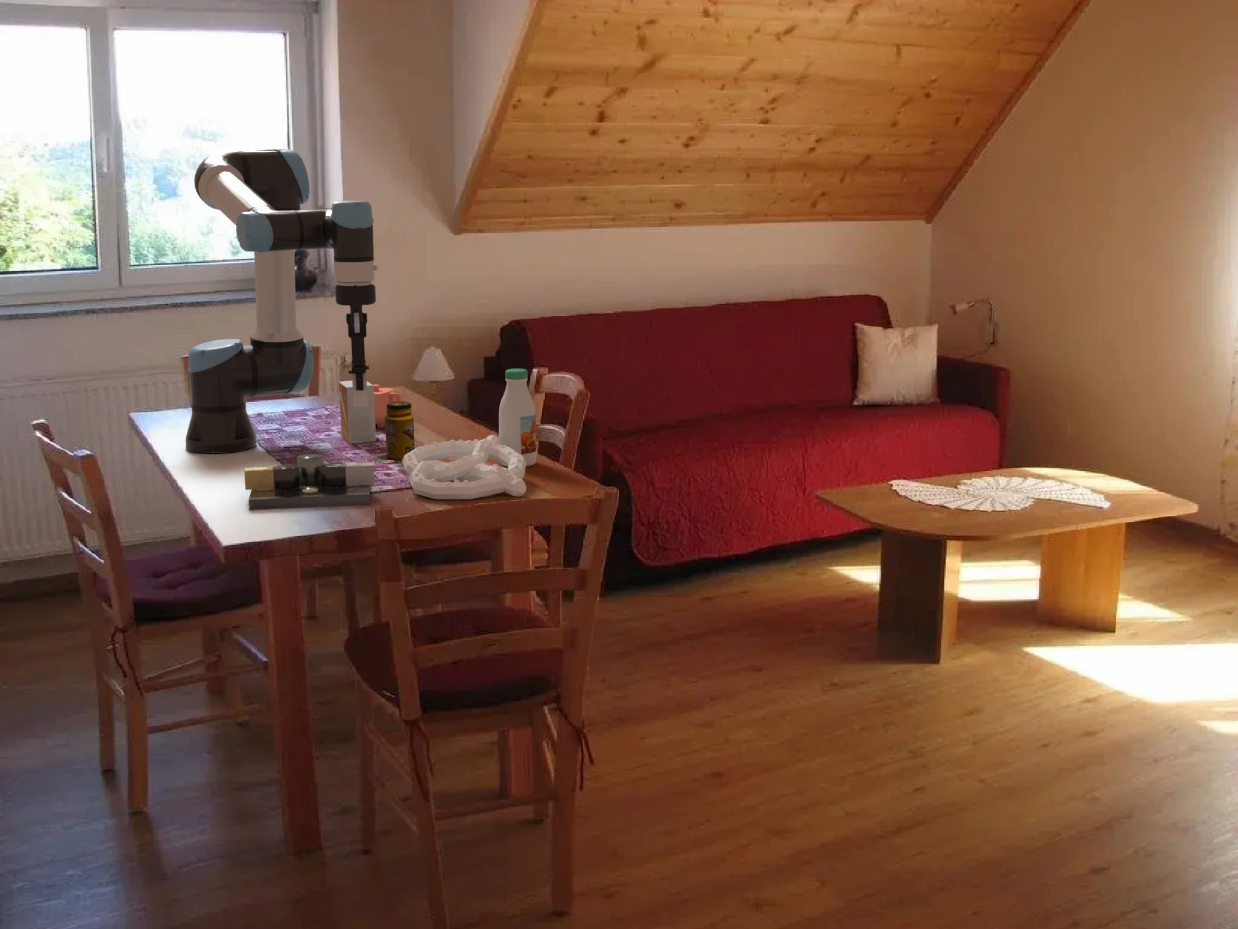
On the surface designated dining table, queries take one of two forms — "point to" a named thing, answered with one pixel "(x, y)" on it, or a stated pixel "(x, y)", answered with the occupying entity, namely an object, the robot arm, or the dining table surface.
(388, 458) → the condiment
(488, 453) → the pretzel
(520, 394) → the milk bottle
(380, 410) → the teapot
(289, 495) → the base plate
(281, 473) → the brass lever knob
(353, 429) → the small box
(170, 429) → the dining table surface
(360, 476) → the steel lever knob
